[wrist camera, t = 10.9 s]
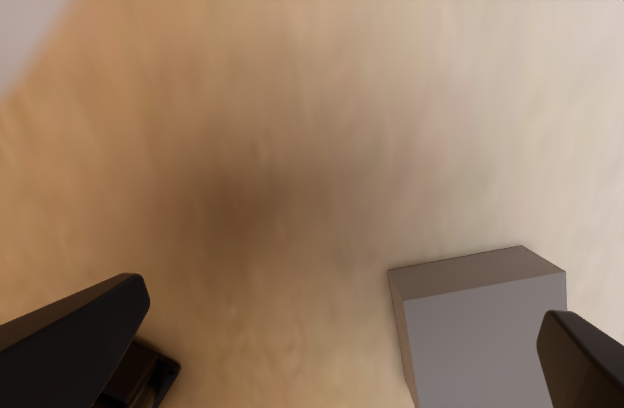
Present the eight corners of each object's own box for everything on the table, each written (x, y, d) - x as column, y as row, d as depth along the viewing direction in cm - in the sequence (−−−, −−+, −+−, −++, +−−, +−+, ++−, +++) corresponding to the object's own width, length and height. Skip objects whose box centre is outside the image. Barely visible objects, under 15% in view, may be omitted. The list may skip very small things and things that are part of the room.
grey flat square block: (405, 380, 25) (422, 428, 21) (387, 270, 23) (402, 301, 19) (528, 359, 24) (569, 404, 21) (521, 245, 22) (565, 271, 18)
